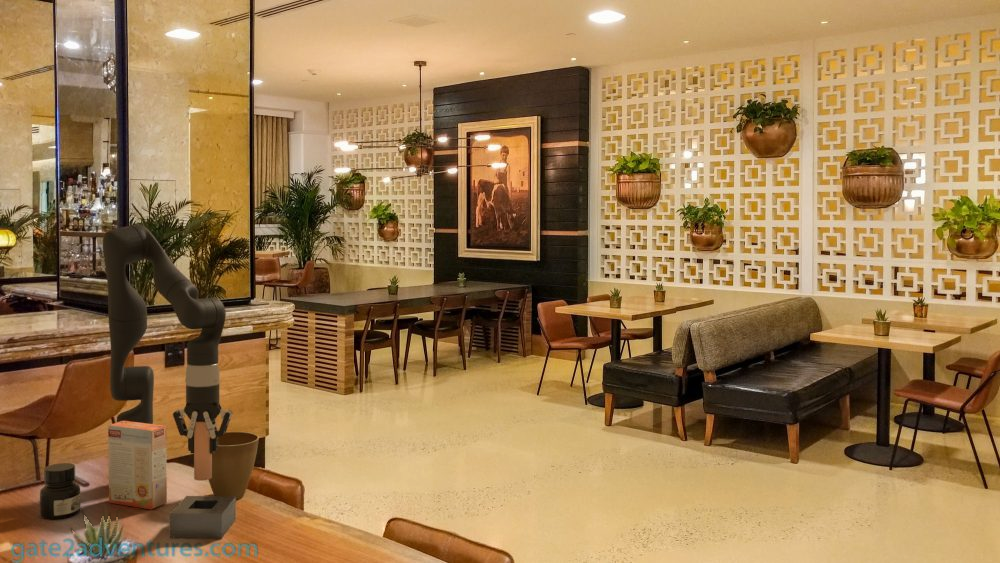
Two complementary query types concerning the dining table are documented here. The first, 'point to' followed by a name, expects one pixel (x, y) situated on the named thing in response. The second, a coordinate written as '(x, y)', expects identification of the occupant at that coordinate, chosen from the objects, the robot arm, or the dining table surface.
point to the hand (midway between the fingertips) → (202, 452)
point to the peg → (202, 452)
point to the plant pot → (233, 463)
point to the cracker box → (137, 464)
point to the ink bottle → (59, 492)
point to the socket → (203, 517)
